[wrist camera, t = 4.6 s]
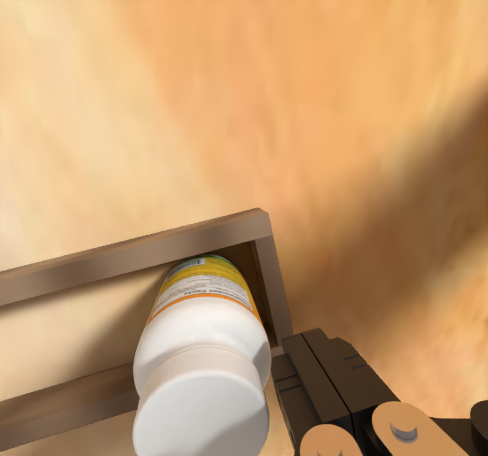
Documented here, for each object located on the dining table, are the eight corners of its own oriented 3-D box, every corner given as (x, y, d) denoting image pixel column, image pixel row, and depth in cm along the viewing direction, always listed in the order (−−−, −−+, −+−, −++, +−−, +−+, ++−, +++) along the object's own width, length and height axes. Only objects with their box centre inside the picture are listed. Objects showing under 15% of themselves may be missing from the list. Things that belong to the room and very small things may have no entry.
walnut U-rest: (258, 207, 17) (268, 213, 14) (285, 334, 19) (298, 358, 16) (-75, 290, 15) (-132, 313, 12) (-7, 421, 17) (-43, 465, 14)
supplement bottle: (227, 341, 18) (249, 522, 9) (148, 316, 17) (76, 490, 8) (260, 269, 17) (324, 380, 8) (181, 238, 16) (146, 324, 7)
